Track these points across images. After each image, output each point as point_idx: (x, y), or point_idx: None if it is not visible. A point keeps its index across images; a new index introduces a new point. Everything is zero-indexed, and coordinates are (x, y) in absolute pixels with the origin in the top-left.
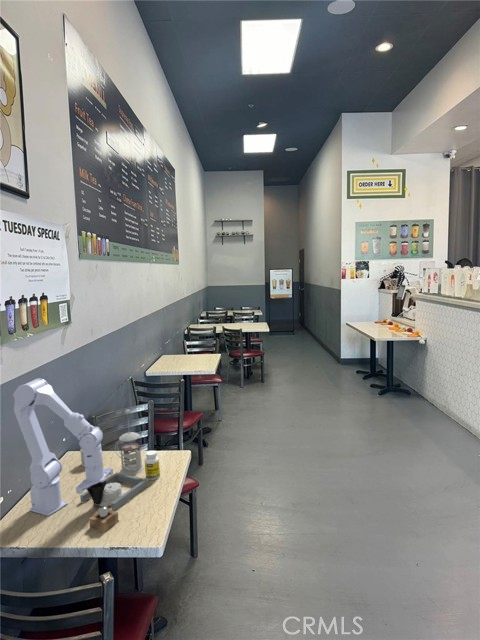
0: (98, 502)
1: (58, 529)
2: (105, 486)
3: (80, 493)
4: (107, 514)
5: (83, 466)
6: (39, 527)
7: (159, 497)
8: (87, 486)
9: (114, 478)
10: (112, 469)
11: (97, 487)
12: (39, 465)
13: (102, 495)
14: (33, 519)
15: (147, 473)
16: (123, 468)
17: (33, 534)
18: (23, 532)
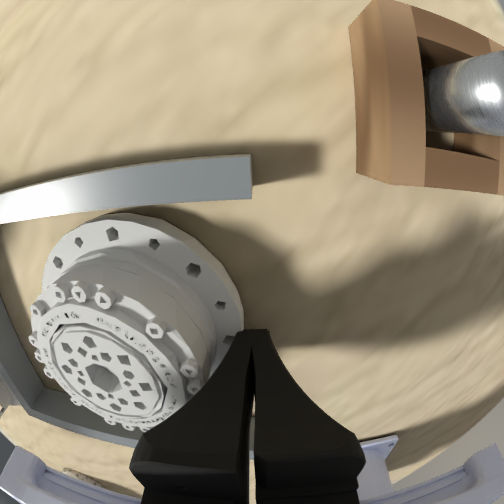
0: (269, 338)
1: (482, 331)
2: (124, 412)
3: (495, 446)
4: (456, 62)
5: (104, 488)
6: (460, 396)
7: (13, 34)
8: (458, 501)
9: (45, 402)
10: (2, 481)
11: (325, 464)
12: None
13: (205, 367)
14: (413, 444)
15: None
16: (2, 400)
17: (493, 374)
18: (477, 404)
